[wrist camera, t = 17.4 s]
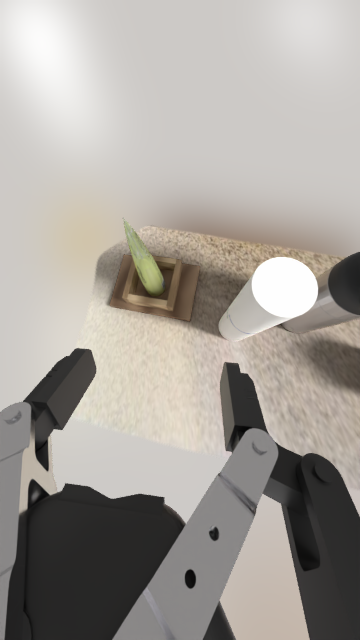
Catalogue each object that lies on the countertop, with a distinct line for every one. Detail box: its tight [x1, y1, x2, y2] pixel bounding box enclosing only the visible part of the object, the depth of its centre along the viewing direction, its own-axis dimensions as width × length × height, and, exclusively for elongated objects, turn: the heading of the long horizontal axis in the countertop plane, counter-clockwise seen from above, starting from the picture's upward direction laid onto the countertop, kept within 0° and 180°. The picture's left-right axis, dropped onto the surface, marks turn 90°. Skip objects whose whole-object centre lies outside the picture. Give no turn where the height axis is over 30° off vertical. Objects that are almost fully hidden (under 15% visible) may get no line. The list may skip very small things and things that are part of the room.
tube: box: [123, 218, 166, 296], centre depth 38 cm, size 6×5×20 cm
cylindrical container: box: [219, 257, 318, 341], centre depth 33 cm, size 7×7×25 cm
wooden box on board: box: [110, 254, 200, 321], centre depth 46 cm, size 20×14×6 cm
